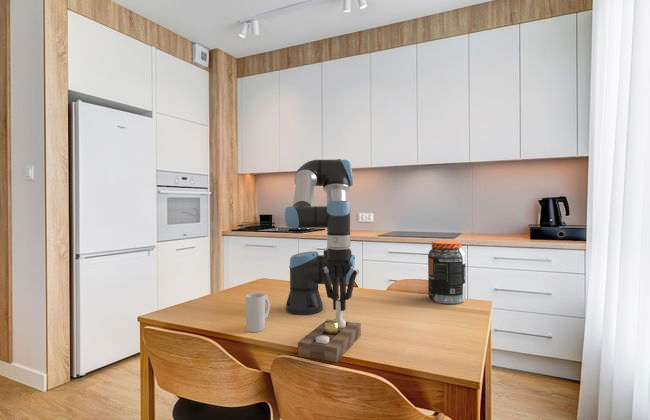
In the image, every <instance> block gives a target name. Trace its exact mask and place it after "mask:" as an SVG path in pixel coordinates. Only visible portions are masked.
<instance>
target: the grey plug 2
mask: <svg viewBox="0 0 650 420" xmlns="http://www.w3.org/2000/svg"><path fill="white" fill-rule="evenodd" d="M332 320H333V321H336V318H335V319H332ZM337 322H338V328H345V327H346V322H347V321H346V319H345V318H343V320H341V321H337Z"/></svg>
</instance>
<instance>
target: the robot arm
mask: <svg viewBox="0 0 650 420" xmlns="http://www.w3.org/2000/svg"><path fill="white" fill-rule="evenodd" d="M293 181H294V182H293V183H294V184H295V187H294V194H293V195H294V196H293V199H292V200H293V201H292V206H288V207H286V208H285V210H284V211H285V212H284V222H285V223H284V224H285V226H286V227H287V228H289V229H315V228H316V229H321V228H322V229H323V228H324V229H325V228H326V248H324V250H323V254H322V255H320V254H319V252H318V251H304V252H299V253H296V254H293V255H291V256H290V259H289V293H288V297H287V300H286V304H285V311H286V312H287V313H289V314H293V315H313V314H317V313H320V312H322V311H323V309H324V304H323V303H324V302H323V301H322V300H323V299H322V297H321V294H320V291H319V285H324V286H325V292H326V297H327V298H328V299H331V300H332V309H333V310H334V311H335V319H336V321H341V320H343V319H344V311H346V304H347V303H346V301H349V299H351V298H352V295H353V290H354V286H355V283H356V279H357V276H358V275H359V272H360V271H359V270H358V269H355V265H356V264H355V263H356V255H355V254H352V249H350V247H351V246H352V245H351V211H352V210H351V203H350V201H349V200H347V193H348V192H349V191H350V187H352V186H353V185H354V178H353V171H352V165H351V162H350V161H349V160H348V159H340V158H338V159H312V160H308V161H307V162H304V164H302V165H301V166H299V168H298V169H297V170H296V172H295V175H294V180H293ZM315 187H322V190H323V192H324V193H326V206H324V205H323V206H314V197H315V196H314V195H315Z"/></svg>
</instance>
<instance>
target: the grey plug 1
mask: <svg viewBox="0 0 650 420" xmlns="http://www.w3.org/2000/svg"><path fill="white" fill-rule="evenodd" d="M316 342H318V343H324V344H327V343H328V342H329V337H328V336H324V335H321V336H317V337H316Z"/></svg>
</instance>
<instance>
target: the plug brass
mask: <svg viewBox="0 0 650 420" xmlns="http://www.w3.org/2000/svg"><path fill="white" fill-rule="evenodd" d="M325 321H326V320H325ZM325 321H324V322H325ZM325 334H328V335H335V336H336V335H337V334H338V322H337V321H326V322H325Z"/></svg>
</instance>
